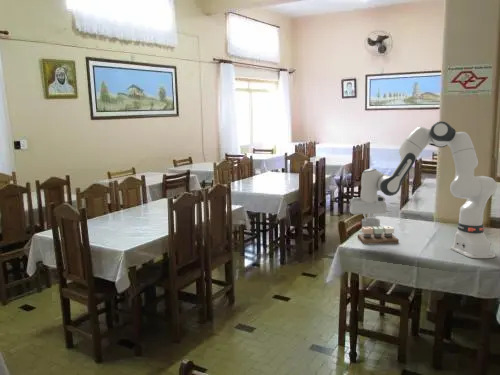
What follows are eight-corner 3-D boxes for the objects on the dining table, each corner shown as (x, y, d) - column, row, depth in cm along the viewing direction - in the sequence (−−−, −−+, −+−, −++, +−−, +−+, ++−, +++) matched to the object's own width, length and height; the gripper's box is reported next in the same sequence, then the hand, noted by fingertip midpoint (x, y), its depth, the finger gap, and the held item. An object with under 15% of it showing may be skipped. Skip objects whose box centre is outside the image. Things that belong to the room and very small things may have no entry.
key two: (383, 236, 250) (383, 228, 249) (374, 237, 249) (375, 228, 249) (380, 234, 254) (380, 226, 254) (372, 234, 254) (372, 226, 254)
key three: (372, 237, 249) (373, 228, 249) (364, 237, 249) (364, 228, 248) (370, 234, 254) (370, 226, 254) (361, 234, 254) (362, 226, 253)
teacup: (380, 235, 262) (380, 222, 261) (361, 234, 265) (362, 221, 263) (378, 228, 276) (378, 216, 274) (360, 228, 278) (360, 216, 277)
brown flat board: (398, 242, 247) (398, 239, 246) (363, 243, 246) (363, 240, 246) (391, 236, 259) (391, 233, 258) (357, 237, 258) (357, 234, 258)
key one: (393, 236, 250) (394, 228, 249) (385, 236, 250) (385, 228, 249) (390, 234, 255) (391, 225, 254) (382, 234, 255) (382, 226, 254)
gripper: (351, 198, 245) (350, 222, 248) (388, 198, 245) (386, 222, 248) (348, 196, 252) (348, 219, 254) (384, 196, 252) (383, 219, 254)
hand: (367, 221), depth 251 cm, fingers closed
